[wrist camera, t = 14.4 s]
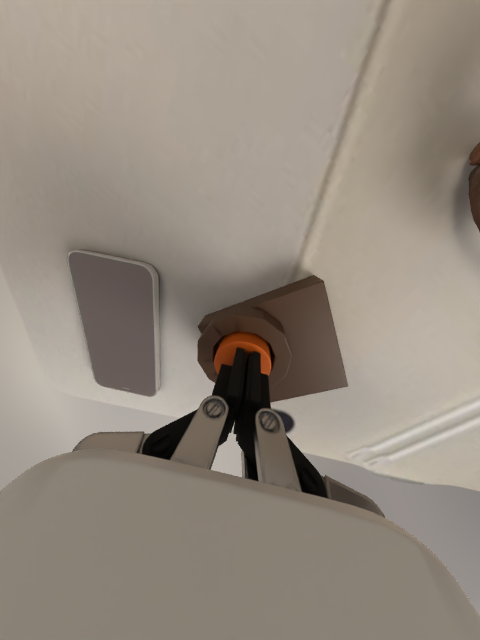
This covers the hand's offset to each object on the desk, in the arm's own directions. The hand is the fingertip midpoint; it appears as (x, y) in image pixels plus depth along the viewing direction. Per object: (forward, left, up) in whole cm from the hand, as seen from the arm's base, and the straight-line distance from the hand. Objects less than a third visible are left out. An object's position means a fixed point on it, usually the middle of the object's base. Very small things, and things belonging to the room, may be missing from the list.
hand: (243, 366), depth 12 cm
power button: (0, 0, -2) cm, 2 cm away
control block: (+2, -2, -5) cm, 6 cm away
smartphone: (-12, +4, -5) cm, 13 cm away
